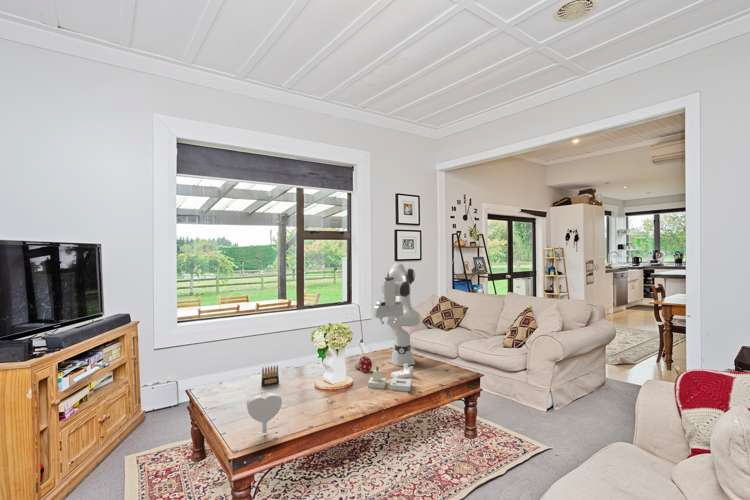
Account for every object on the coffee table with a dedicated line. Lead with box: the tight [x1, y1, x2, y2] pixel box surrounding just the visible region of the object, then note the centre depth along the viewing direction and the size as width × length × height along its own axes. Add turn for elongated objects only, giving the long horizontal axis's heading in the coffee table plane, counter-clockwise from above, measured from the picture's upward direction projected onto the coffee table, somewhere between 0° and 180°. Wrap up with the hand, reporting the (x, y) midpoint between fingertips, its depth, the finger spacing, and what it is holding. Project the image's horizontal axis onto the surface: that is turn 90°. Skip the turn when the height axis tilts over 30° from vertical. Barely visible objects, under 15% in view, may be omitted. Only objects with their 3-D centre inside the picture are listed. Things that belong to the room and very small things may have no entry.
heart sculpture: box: [246, 392, 283, 434], centre depth 178 cm, size 16×5×18 cm, turn 116°
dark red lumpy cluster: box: [354, 355, 373, 373], centre depth 266 cm, size 11×11×15 cm
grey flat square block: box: [367, 376, 387, 390], centre depth 236 cm, size 10×10×4 cm
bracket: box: [390, 364, 414, 379], centre depth 252 cm, size 13×7×8 cm, turn 120°
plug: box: [372, 366, 383, 382], centre depth 236 cm, size 3×5×11 cm, turn 79°
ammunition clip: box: [260, 364, 280, 387], centre depth 238 cm, size 11×2×12 cm, turn 118°
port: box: [389, 377, 413, 394], centre depth 233 cm, size 12×12×5 cm
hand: (388, 323), depth 244 cm, fingers open, 8 cm apart
